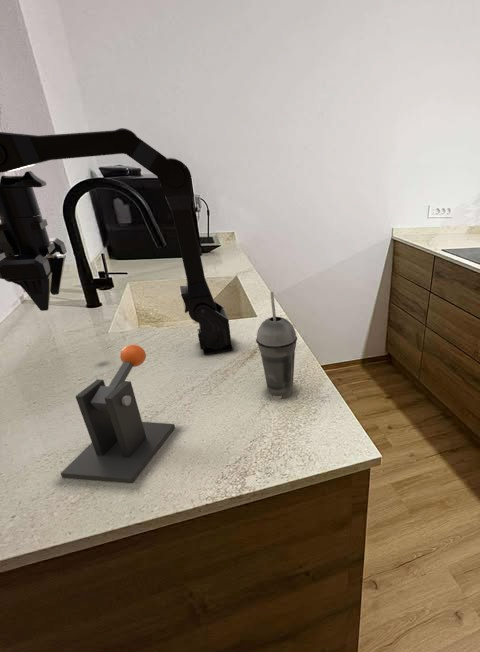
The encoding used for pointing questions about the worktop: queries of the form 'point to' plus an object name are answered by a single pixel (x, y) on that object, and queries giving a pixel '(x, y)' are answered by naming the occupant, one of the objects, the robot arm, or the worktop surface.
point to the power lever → (119, 374)
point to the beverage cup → (277, 353)
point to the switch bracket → (115, 437)
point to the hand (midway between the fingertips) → (50, 302)
